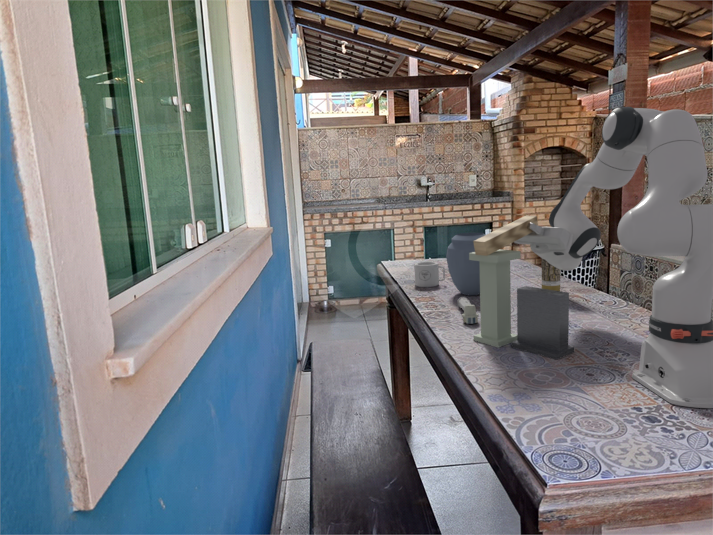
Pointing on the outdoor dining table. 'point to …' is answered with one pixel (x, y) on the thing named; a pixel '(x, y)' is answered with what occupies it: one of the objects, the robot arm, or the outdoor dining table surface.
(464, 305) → the light grey brush
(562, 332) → the dark grey upright block
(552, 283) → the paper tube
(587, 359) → the outdoor dining table surface
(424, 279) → the mug
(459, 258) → the vase
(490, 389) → the outdoor dining table surface
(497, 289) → the pedestal
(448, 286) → the outdoor dining table surface
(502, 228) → the beam
